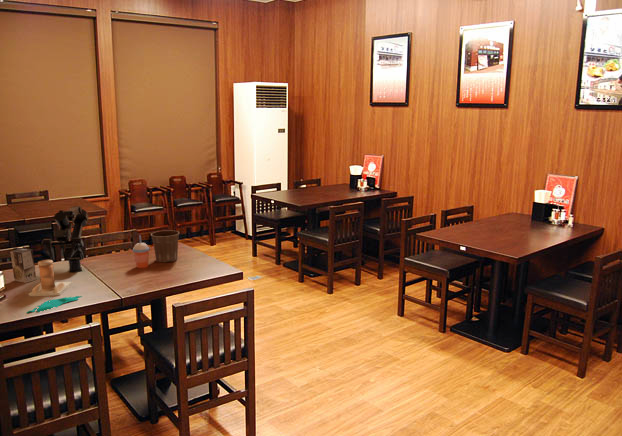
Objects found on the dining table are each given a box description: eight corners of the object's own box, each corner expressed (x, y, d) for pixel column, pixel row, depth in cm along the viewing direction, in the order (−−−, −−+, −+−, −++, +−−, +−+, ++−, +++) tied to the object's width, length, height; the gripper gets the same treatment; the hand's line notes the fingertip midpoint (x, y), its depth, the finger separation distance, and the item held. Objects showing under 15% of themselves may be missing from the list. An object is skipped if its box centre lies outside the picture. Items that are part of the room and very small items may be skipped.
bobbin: (49, 286, 250) (46, 259, 247) (59, 288, 248) (55, 260, 245) (38, 290, 245) (34, 262, 242) (47, 292, 242) (44, 264, 239)
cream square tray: (43, 284, 257) (42, 278, 256) (72, 284, 258) (71, 278, 257) (29, 296, 241) (28, 289, 240) (59, 295, 242) (58, 288, 242)
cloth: (79, 294, 245) (79, 290, 245) (89, 302, 235) (89, 297, 235) (19, 308, 228) (18, 303, 227) (27, 317, 218) (26, 312, 217)
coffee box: (37, 279, 265) (33, 249, 262) (25, 283, 260) (21, 252, 256) (25, 277, 269) (21, 247, 266) (13, 280, 263) (9, 250, 260)
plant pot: (159, 255, 308) (158, 229, 305) (185, 256, 306) (183, 230, 302) (147, 263, 292) (145, 236, 289) (174, 264, 290) (172, 236, 287)
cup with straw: (145, 269, 281) (143, 237, 277) (130, 268, 283) (128, 237, 279) (153, 264, 290) (151, 233, 286) (139, 263, 292) (136, 233, 288)
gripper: (40, 224, 256) (35, 251, 247) (79, 222, 259) (76, 249, 251) (47, 235, 265) (42, 261, 257) (85, 233, 268) (81, 259, 260)
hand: (60, 257), depth 256 cm, fingers open, 9 cm apart
